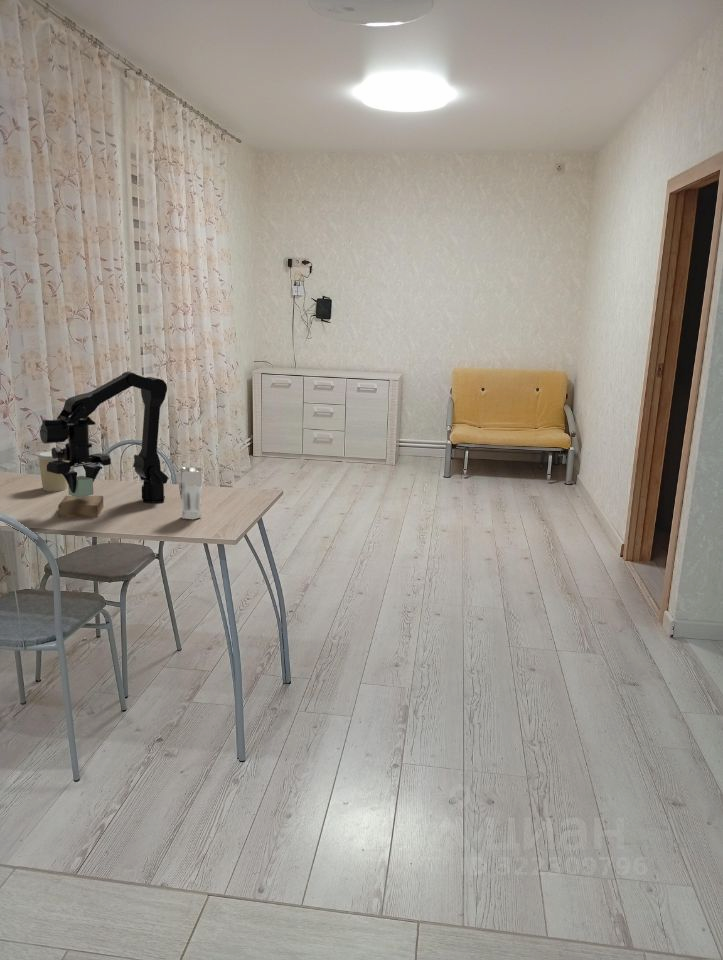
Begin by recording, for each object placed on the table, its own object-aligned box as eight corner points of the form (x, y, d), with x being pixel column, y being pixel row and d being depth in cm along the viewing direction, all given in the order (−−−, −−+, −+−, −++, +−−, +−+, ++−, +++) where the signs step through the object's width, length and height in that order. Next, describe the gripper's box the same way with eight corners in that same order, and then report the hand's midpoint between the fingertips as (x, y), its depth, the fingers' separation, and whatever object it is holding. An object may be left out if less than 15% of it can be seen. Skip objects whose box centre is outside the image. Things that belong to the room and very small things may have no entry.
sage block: (82, 491, 230) (82, 475, 229) (93, 494, 228) (92, 478, 227) (68, 494, 226) (67, 478, 225) (79, 497, 224) (78, 481, 222)
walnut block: (103, 508, 235) (103, 495, 234) (97, 518, 224) (97, 505, 223) (66, 508, 233) (65, 495, 232) (58, 518, 222) (58, 505, 221)
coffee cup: (73, 485, 258) (72, 451, 255) (64, 492, 248) (63, 457, 246) (46, 484, 257) (44, 450, 254) (35, 491, 248) (33, 456, 245)
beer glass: (202, 520, 225) (202, 471, 222) (178, 520, 224) (178, 471, 220) (203, 514, 232) (203, 466, 228) (180, 514, 231) (179, 466, 227)
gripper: (87, 432, 235) (89, 481, 239) (33, 440, 220) (36, 492, 223) (111, 437, 229) (113, 487, 233) (57, 446, 214) (60, 499, 218)
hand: (80, 491), depth 227 cm, fingers closed on sage block, 5 cm apart
